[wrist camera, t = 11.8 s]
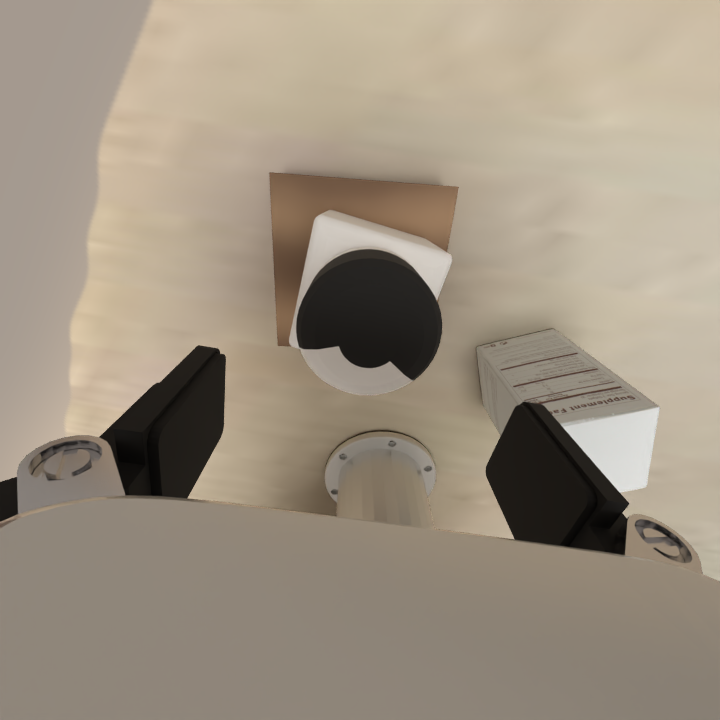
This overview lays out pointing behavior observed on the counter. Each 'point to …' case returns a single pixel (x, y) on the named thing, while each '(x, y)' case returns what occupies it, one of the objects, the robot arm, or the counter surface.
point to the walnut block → (352, 197)
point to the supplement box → (572, 401)
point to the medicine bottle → (368, 304)
